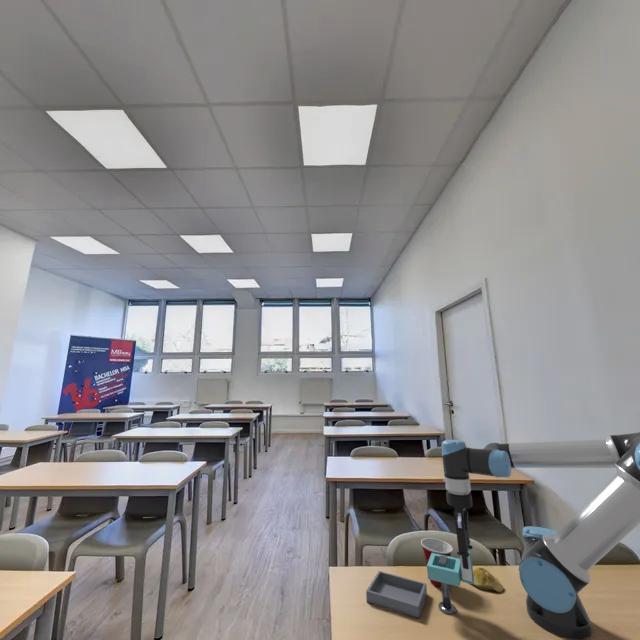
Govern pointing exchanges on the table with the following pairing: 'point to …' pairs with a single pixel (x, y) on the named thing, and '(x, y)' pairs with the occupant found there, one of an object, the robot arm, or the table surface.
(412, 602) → the tray
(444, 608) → the t stake
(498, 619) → the table surface
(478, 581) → the fossil
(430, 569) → the tabbed collar
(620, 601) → the table surface
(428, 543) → the plastic cup
